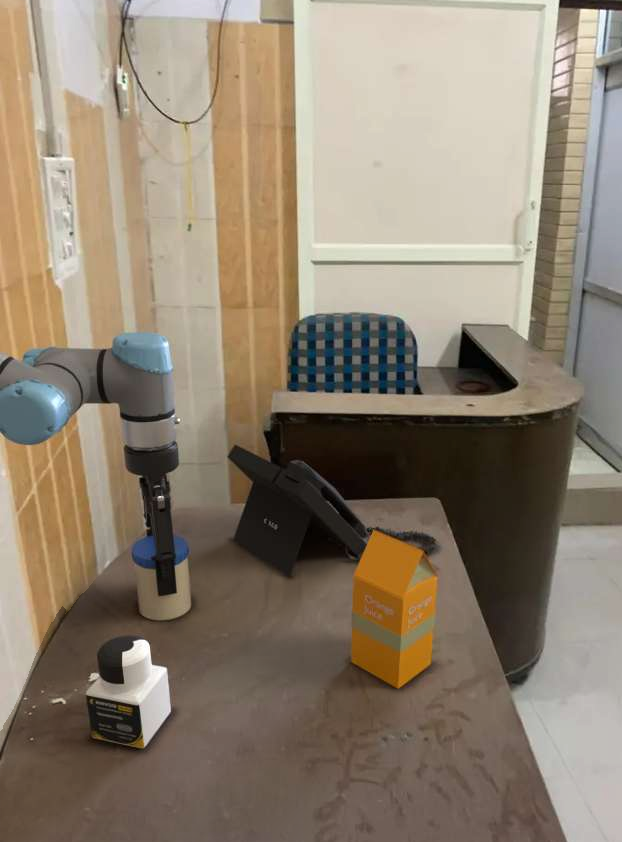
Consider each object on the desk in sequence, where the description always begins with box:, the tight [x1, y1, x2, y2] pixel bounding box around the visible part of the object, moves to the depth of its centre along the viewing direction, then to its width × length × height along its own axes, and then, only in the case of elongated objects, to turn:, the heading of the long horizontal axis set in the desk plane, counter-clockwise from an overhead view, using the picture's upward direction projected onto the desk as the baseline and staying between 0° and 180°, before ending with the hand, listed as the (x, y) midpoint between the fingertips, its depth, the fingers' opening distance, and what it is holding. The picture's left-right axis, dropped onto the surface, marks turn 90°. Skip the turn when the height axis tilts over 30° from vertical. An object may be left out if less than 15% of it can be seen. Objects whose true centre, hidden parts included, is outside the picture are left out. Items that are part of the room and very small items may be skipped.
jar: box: [133, 555, 192, 621], centre depth 118 cm, size 8×8×10 cm
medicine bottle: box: [85, 635, 172, 749], centre depth 93 cm, size 7×7×12 cm
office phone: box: [227, 444, 437, 578], centre depth 137 cm, size 29×28×20 cm
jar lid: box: [130, 534, 190, 569], centre depth 116 cm, size 8×8×2 cm
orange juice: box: [350, 529, 439, 689], centre depth 105 cm, size 8×9×20 cm
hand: (163, 578), depth 118 cm, fingers closed on jar lid, 8 cm apart
